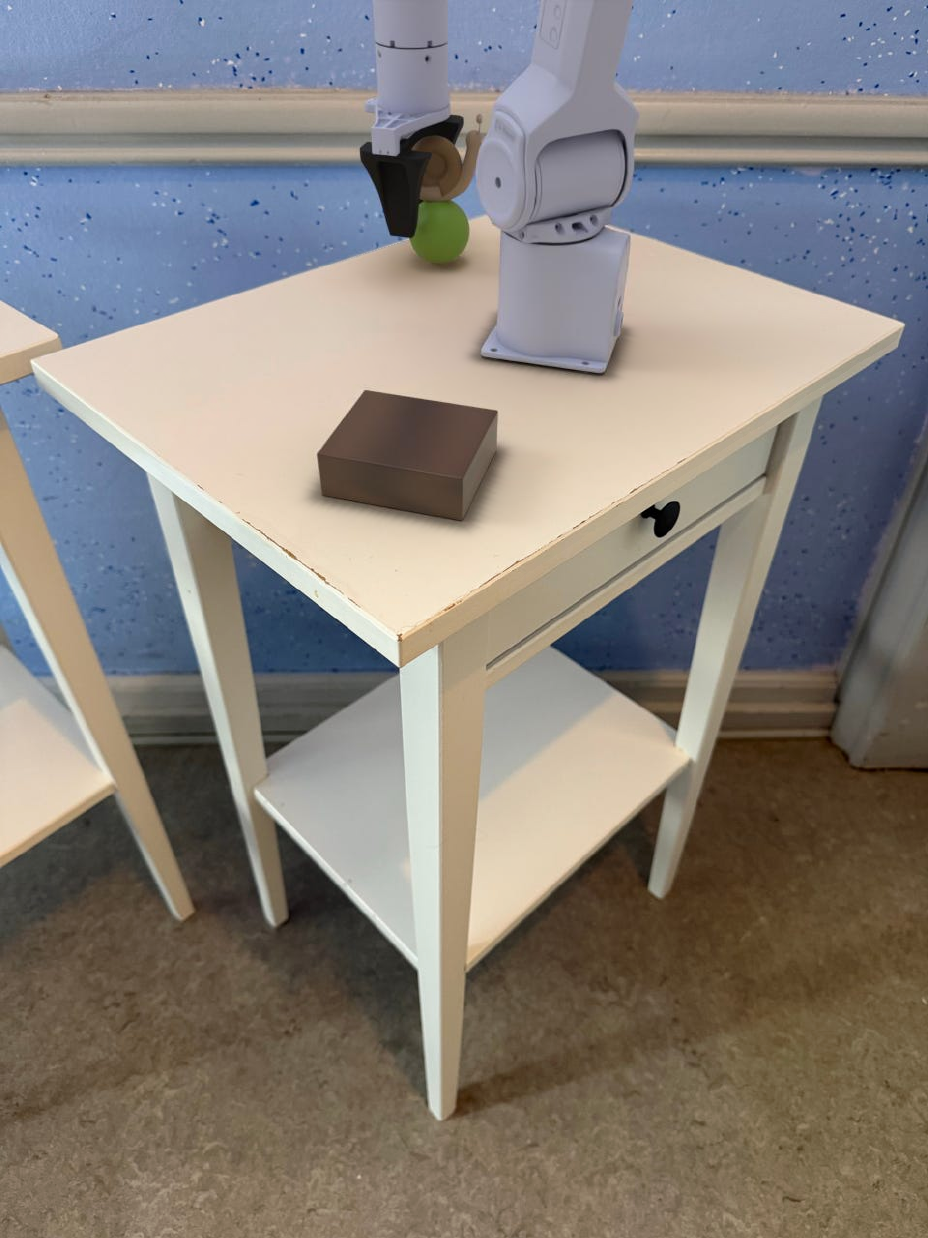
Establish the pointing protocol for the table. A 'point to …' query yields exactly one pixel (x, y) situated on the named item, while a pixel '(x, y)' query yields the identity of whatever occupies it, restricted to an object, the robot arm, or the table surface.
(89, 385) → the table surface
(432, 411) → the walnut block
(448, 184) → the snail figurine
